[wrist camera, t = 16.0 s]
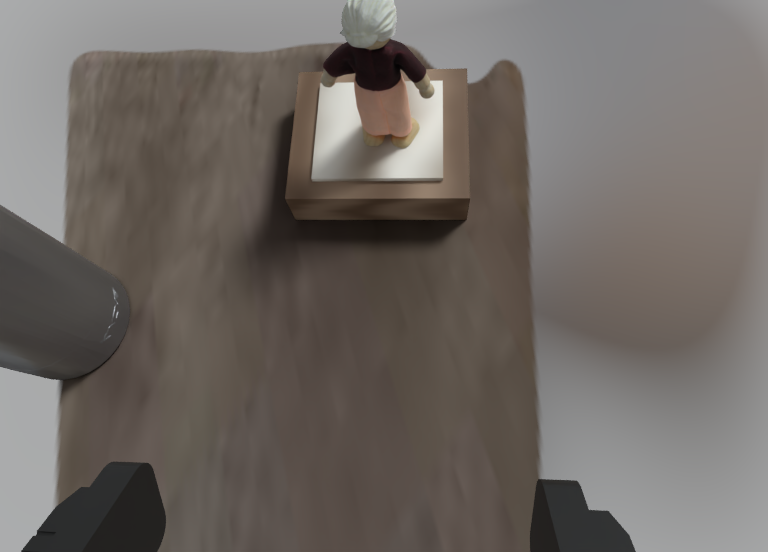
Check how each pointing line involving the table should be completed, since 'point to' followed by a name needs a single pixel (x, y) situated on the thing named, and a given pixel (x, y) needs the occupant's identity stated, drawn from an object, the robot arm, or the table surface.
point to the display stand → (379, 155)
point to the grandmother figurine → (378, 72)
